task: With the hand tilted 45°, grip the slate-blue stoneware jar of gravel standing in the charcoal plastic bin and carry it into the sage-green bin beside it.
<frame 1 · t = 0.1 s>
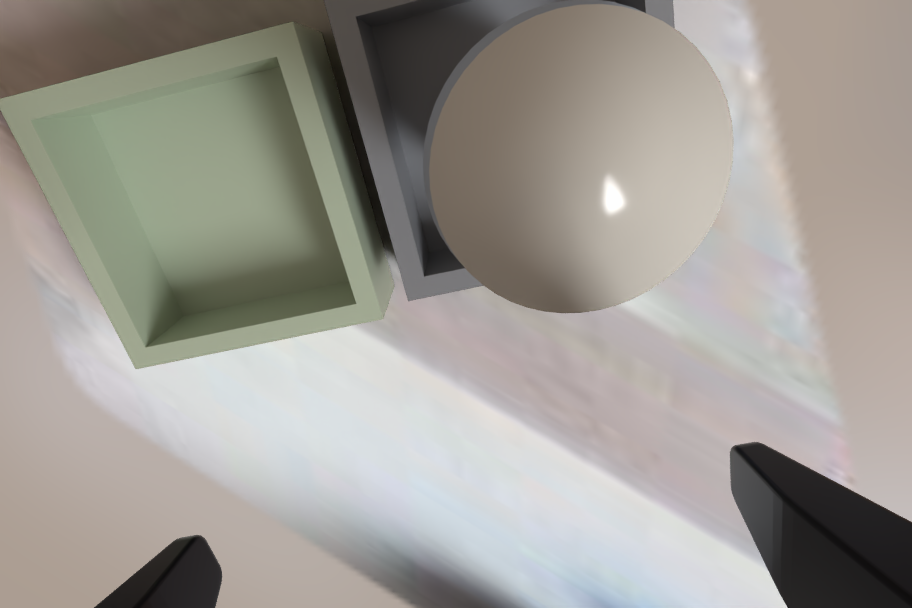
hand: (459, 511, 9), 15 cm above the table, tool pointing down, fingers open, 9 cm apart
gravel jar: (511, 122, 20), resting on charcoal bin
charcoal bin: (510, 121, 20), on the table
sage bin: (243, 197, 21), on the table
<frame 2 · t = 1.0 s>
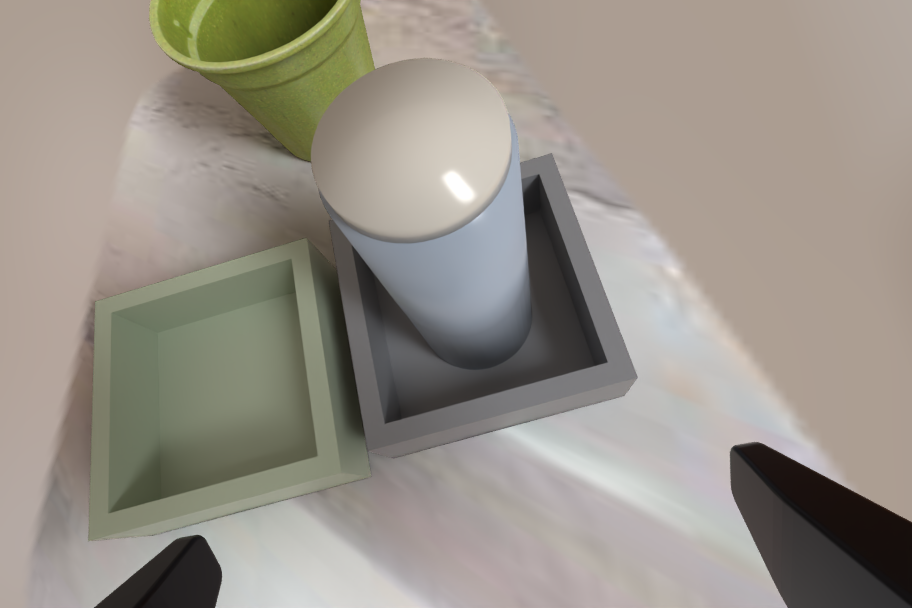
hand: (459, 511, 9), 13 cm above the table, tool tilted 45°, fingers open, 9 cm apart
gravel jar: (476, 315, 24), resting on charcoal bin
plant pot: (332, 121, 30), on the table
charcoal bin: (477, 319, 24), on the table
sage bin: (250, 394, 25), on the table
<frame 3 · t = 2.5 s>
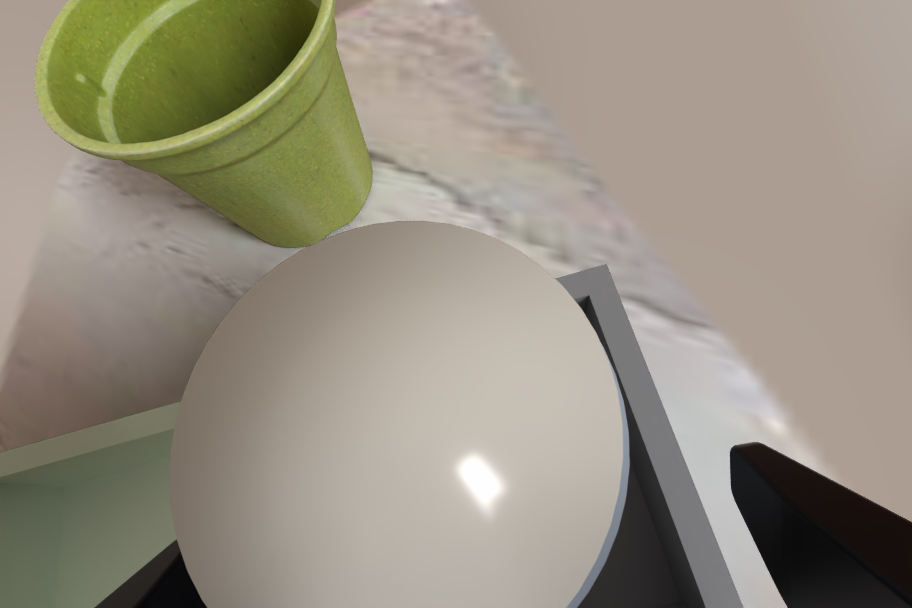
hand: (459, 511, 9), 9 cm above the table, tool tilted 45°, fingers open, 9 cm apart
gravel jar: (496, 484, 17), resting on charcoal bin
plant pot: (308, 190, 23), on the table
charcoal bin: (498, 485, 17), on the table
sage bin: (182, 584, 18), on the table
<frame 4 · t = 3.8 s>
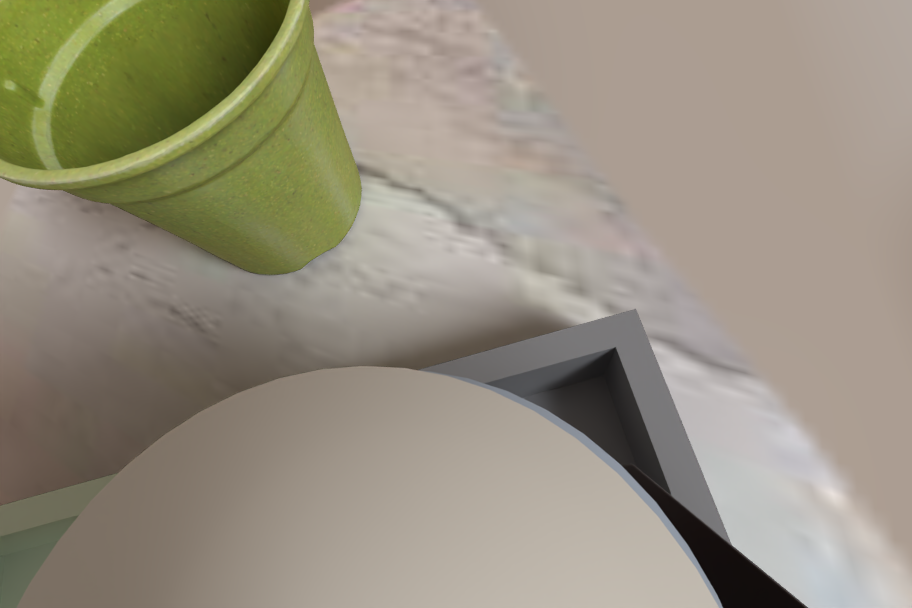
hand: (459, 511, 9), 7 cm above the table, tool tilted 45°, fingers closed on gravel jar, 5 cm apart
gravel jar: (504, 564, 14), resting on charcoal bin, touching gripper
plant pot: (289, 208, 21), on the table
charcoal bin: (506, 562, 15), on the table
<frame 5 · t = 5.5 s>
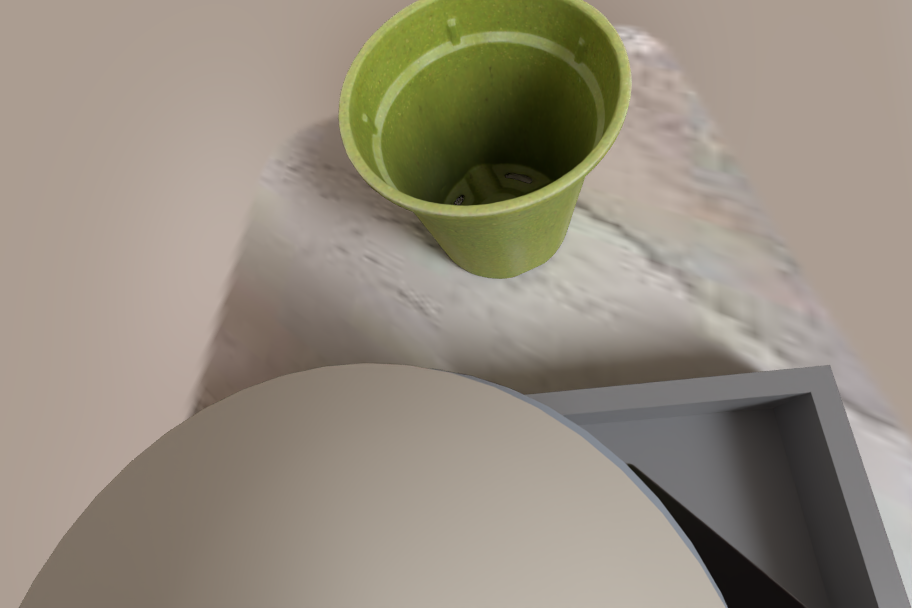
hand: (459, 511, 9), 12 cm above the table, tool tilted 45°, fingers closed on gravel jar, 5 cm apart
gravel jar: (505, 563, 14), point 6 cm above the table, touching gripper
plant pot: (500, 222, 25), on the table
charcoal bin: (676, 539, 19), on the table
when the fingers open (8 cm above the table, at t = 7.3 s): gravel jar drops 1 cm, resting on sage bin.
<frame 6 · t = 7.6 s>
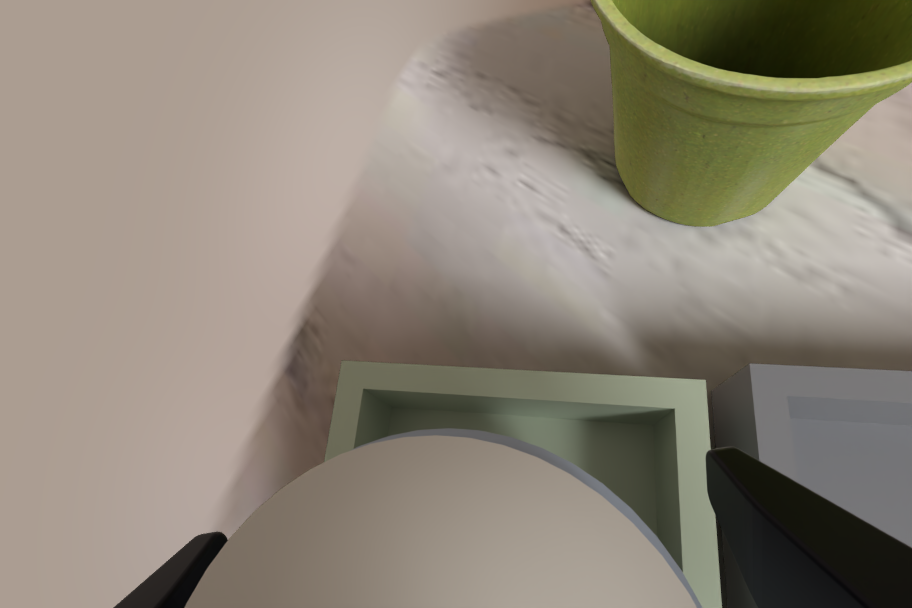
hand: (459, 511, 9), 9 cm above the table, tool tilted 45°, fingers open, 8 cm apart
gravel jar: (509, 564, 16), point 1 cm above the table, touching sage bin
plant pot: (693, 161, 20), on the table
sage bin: (509, 557, 16), on the table
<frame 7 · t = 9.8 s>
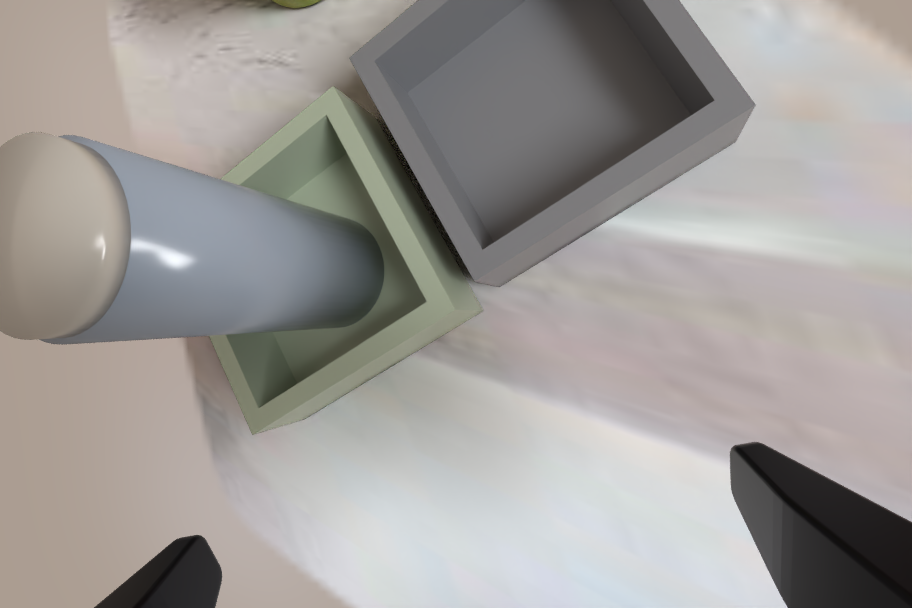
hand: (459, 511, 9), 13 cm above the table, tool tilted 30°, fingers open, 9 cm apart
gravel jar: (334, 272, 24), point 1 cm above the table, touching sage bin
charcoal bin: (543, 115, 21), on the table
sage bin: (339, 271, 24), on the table
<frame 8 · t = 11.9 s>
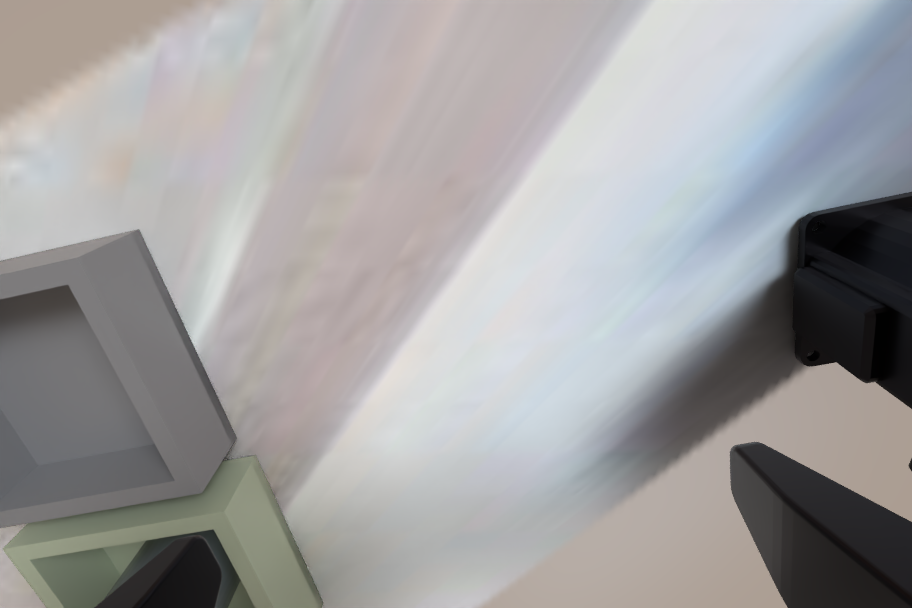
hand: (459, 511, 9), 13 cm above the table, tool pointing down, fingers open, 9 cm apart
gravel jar: (196, 557, 26), point 1 cm above the table, touching sage bin
charcoal bin: (84, 364, 23), on the table
sage bin: (198, 549, 27), on the table
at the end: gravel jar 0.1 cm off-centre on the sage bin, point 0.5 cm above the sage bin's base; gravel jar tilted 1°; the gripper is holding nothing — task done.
